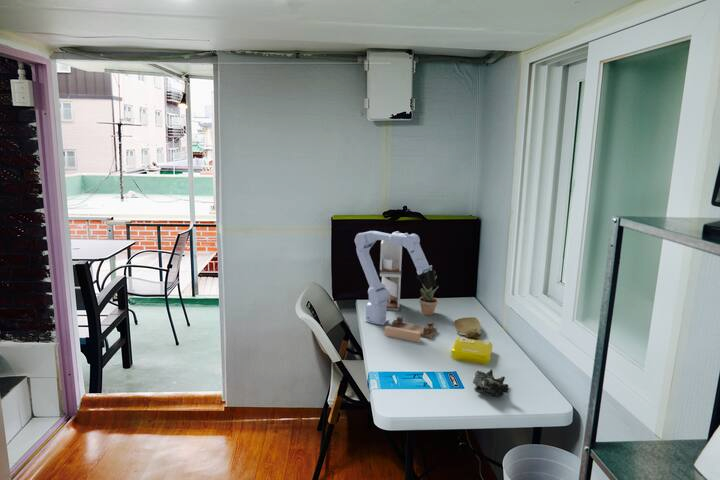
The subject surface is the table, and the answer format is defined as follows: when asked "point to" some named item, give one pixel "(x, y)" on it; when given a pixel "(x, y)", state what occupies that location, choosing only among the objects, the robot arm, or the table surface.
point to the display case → (391, 272)
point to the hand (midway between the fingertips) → (431, 287)
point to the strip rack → (415, 327)
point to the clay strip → (402, 333)
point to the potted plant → (428, 300)
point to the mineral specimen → (489, 383)
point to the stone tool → (468, 327)
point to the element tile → (472, 351)
